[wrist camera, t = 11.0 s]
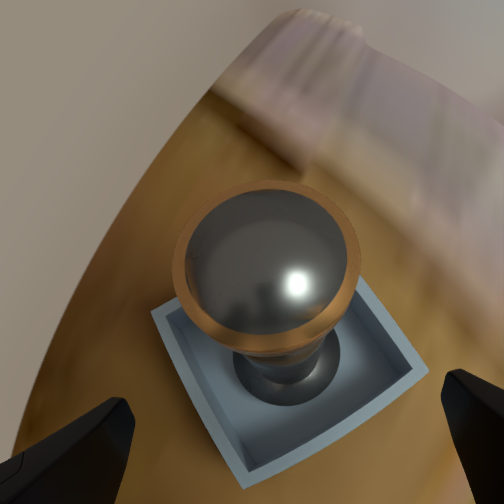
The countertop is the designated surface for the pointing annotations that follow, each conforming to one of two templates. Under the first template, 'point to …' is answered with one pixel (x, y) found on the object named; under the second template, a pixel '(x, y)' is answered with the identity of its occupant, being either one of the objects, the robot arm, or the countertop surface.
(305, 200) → the pin
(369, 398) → the pin tray
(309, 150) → the countertop surface
